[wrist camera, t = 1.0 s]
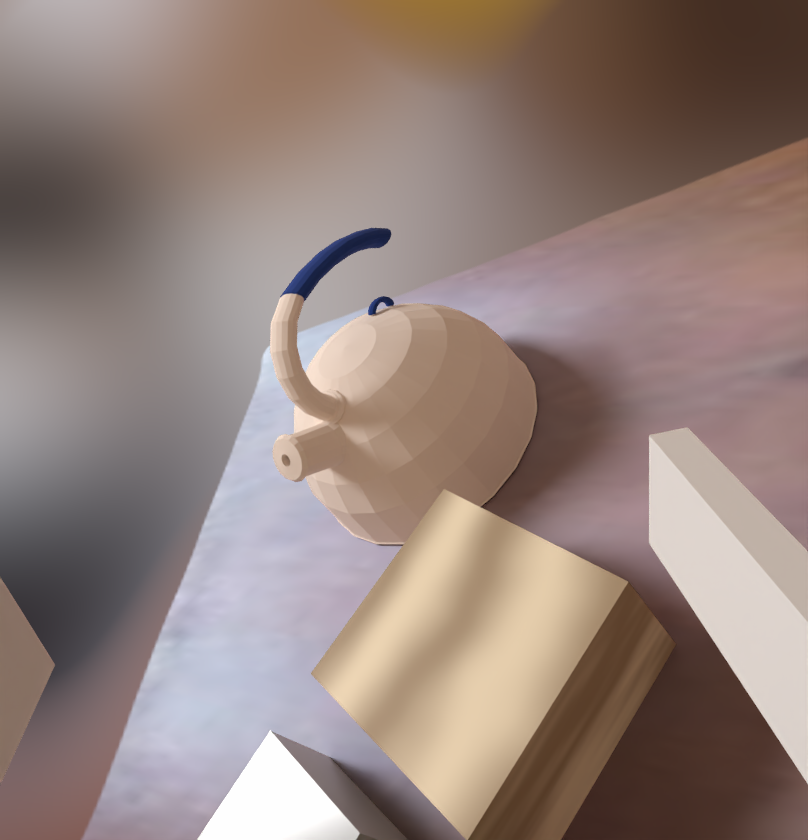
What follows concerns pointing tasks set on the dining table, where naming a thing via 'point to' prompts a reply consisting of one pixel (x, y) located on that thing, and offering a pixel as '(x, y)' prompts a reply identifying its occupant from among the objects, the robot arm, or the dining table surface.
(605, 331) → the dining table surface
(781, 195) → the dining table surface
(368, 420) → the kettle
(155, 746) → the dining table surface
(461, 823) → the birch block
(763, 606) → the robot arm
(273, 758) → the stoneware block
